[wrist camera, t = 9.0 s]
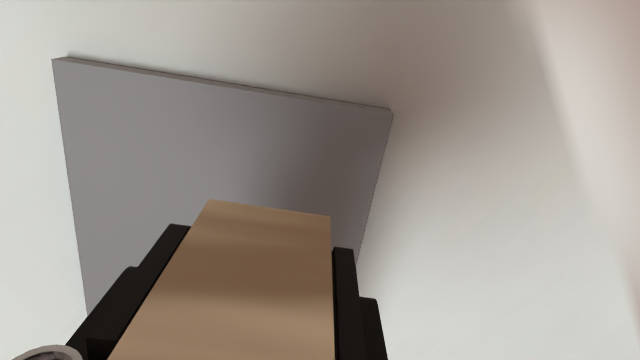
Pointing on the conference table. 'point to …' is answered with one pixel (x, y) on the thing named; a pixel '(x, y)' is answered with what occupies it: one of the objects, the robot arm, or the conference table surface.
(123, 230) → the slate board
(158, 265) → the robot arm
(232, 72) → the conference table surface
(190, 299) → the stepped wooden block
